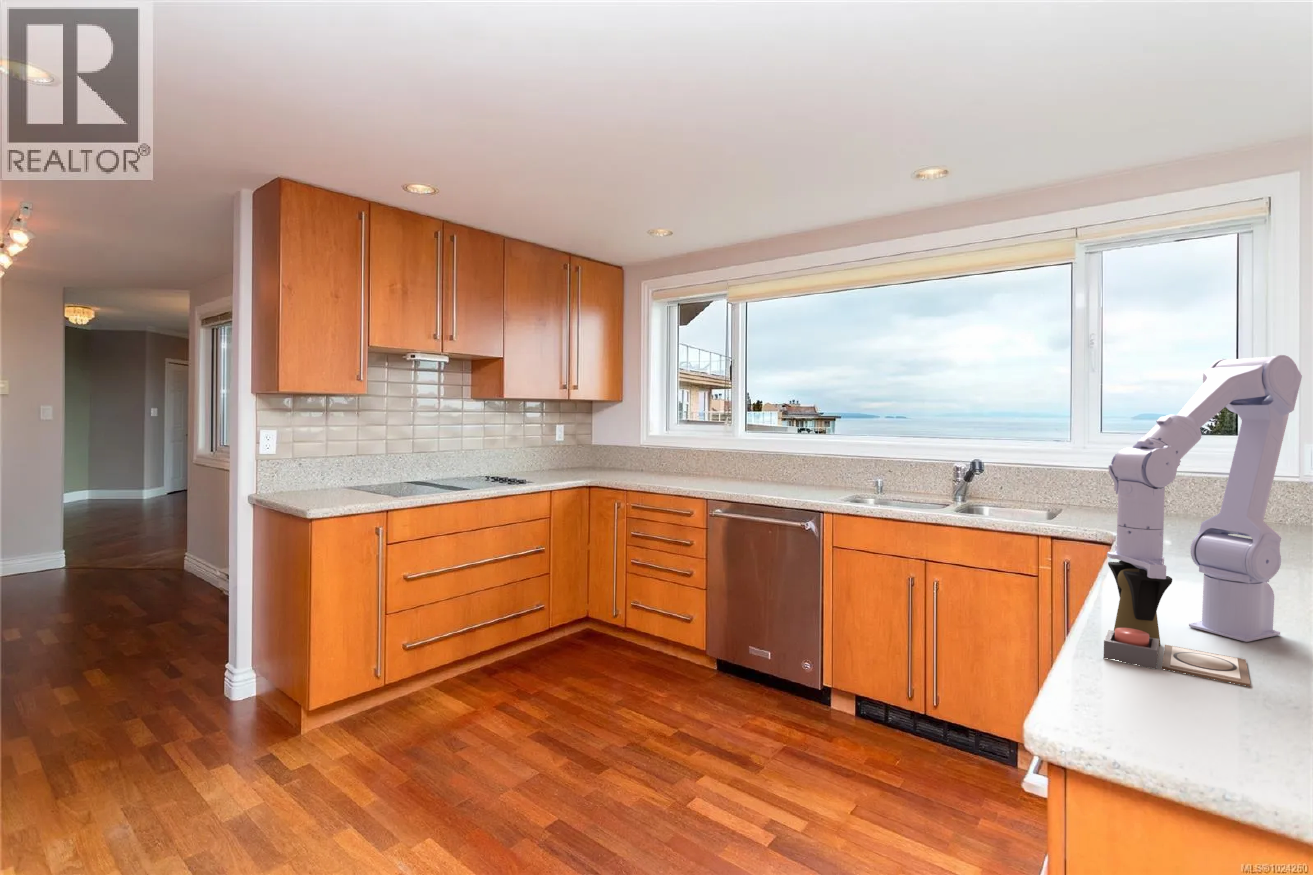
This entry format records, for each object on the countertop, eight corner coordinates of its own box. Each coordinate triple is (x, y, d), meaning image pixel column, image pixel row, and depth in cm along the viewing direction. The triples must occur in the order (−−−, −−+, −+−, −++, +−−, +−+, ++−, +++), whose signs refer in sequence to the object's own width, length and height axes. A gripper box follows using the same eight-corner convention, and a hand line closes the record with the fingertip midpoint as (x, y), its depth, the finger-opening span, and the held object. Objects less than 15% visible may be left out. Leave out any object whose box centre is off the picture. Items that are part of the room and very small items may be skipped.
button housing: (1107, 647, 98) (1108, 629, 98) (1158, 656, 94) (1159, 639, 94) (1103, 658, 93) (1104, 640, 93) (1156, 669, 89) (1156, 650, 89)
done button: (1115, 636, 96) (1116, 625, 96) (1149, 642, 94) (1150, 631, 94) (1113, 643, 93) (1113, 632, 93) (1148, 650, 91) (1148, 639, 91)
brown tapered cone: (1169, 649, 97) (1172, 575, 97) (1124, 646, 98) (1127, 573, 98) (1146, 635, 103) (1149, 566, 102) (1104, 633, 104) (1106, 564, 104)
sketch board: (1164, 647, 98) (1164, 642, 98) (1245, 662, 92) (1245, 657, 92) (1161, 669, 89) (1161, 664, 89) (1250, 687, 84) (1250, 682, 84)
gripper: (1094, 517, 108) (1092, 598, 108) (1126, 533, 94) (1123, 626, 95) (1145, 520, 106) (1142, 602, 106) (1185, 536, 92) (1181, 631, 92)
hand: (1137, 614), depth 100 cm, fingers closed on brown tapered cone, 5 cm apart
